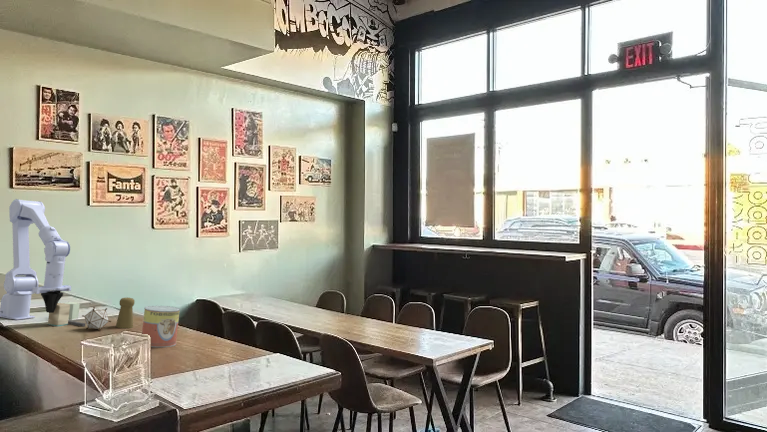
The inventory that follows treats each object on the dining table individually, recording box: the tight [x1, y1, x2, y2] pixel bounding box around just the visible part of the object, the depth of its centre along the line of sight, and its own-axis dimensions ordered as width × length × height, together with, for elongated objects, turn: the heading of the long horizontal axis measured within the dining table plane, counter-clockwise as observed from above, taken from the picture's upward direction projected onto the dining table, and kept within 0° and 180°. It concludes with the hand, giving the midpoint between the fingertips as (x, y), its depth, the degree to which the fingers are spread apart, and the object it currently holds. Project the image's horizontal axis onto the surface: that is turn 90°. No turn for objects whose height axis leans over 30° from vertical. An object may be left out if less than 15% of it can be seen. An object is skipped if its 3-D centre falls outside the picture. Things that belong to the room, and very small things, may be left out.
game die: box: [82, 306, 112, 332], centre depth 202 cm, size 9×8×10 cm
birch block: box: [47, 302, 70, 327], centre depth 205 cm, size 4×4×8 cm
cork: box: [115, 297, 136, 329], centre depth 212 cm, size 6×6×11 cm
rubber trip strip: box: [68, 320, 86, 327], centre depth 208 cm, size 16×1×1 cm, turn 74°
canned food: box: [141, 305, 181, 348], centre depth 190 cm, size 11×11×12 cm
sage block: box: [63, 301, 81, 321], centre depth 218 cm, size 4×4×6 cm
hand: (49, 312), depth 201 cm, fingers closed
